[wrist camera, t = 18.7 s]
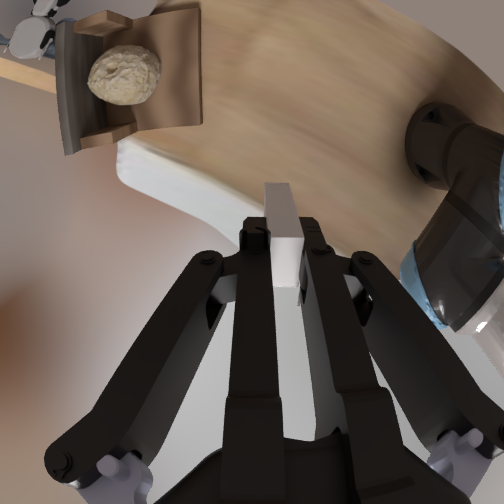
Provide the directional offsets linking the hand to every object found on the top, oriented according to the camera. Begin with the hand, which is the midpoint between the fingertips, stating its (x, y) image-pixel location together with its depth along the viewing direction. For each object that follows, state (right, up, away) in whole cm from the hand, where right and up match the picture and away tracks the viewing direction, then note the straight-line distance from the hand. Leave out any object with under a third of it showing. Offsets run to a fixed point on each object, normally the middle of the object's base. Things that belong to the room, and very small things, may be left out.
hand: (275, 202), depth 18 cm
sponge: (-18, +22, +13) cm, 31 cm away
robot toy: (-37, +37, +5) cm, 53 cm away
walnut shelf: (-17, +23, +14) cm, 32 cm away
